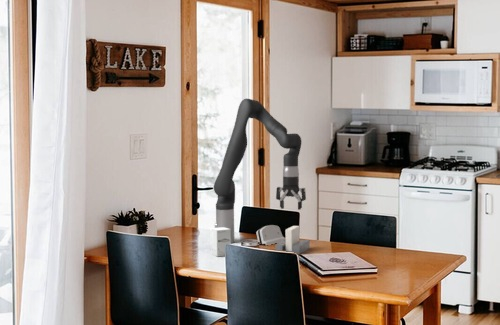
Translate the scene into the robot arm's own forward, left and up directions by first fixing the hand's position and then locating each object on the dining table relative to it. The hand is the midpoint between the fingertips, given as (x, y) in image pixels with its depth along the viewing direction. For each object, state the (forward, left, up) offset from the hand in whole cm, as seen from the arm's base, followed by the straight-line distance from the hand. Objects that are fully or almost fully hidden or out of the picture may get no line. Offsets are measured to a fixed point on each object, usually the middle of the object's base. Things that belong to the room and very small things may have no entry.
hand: (290, 209), depth 383 cm
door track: (+1, 0, -20) cm, 20 cm away
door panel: (+1, 0, -19) cm, 19 cm away
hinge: (-17, +16, -21) cm, 31 cm away
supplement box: (-28, -20, -20) cm, 40 cm away
